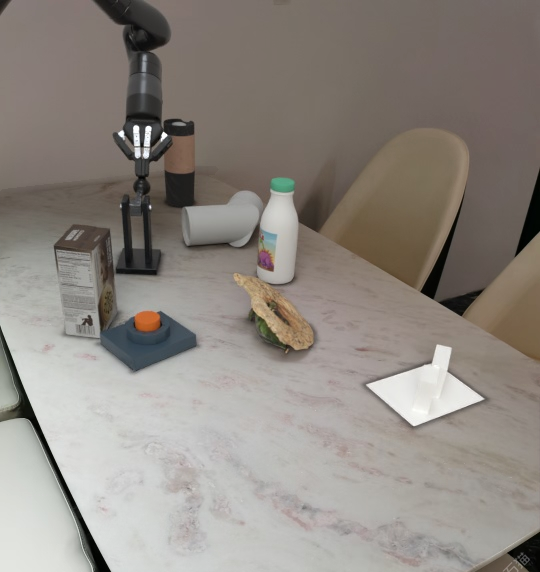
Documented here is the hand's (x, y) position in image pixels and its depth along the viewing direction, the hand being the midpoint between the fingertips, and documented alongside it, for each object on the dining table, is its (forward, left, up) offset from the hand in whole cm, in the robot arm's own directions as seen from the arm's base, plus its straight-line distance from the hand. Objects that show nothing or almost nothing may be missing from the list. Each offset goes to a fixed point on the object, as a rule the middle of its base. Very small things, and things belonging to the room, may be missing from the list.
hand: (141, 177), depth 125 cm
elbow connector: (+16, -7, -15) cm, 23 cm away
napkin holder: (+3, -72, -15) cm, 74 cm away
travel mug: (+22, +17, -15) cm, 31 cm away
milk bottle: (+12, -29, -15) cm, 35 cm away
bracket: (-7, -8, -14) cm, 18 cm away
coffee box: (-27, -24, -15) cm, 39 cm away
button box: (-23, -35, -14) cm, 45 cm away
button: (-23, -35, -11) cm, 44 cm away
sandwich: (-3, -45, -15) cm, 48 cm away
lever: (-4, -4, -4) cm, 7 cm away
